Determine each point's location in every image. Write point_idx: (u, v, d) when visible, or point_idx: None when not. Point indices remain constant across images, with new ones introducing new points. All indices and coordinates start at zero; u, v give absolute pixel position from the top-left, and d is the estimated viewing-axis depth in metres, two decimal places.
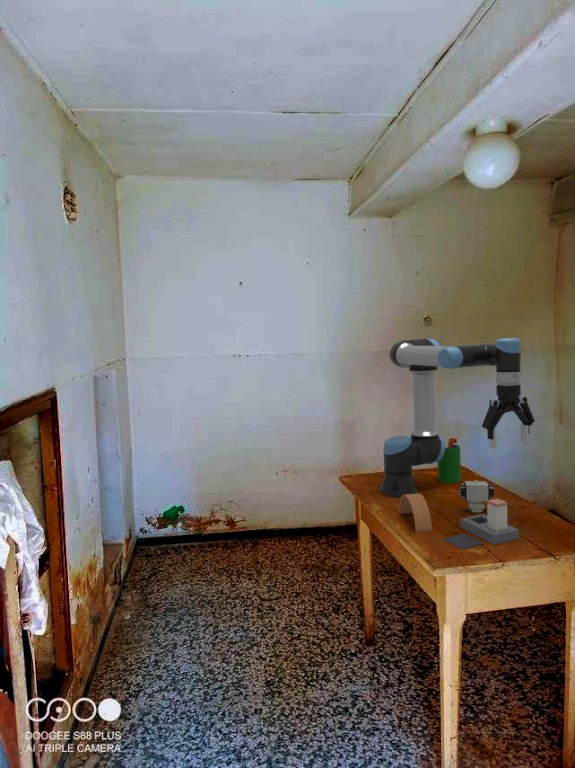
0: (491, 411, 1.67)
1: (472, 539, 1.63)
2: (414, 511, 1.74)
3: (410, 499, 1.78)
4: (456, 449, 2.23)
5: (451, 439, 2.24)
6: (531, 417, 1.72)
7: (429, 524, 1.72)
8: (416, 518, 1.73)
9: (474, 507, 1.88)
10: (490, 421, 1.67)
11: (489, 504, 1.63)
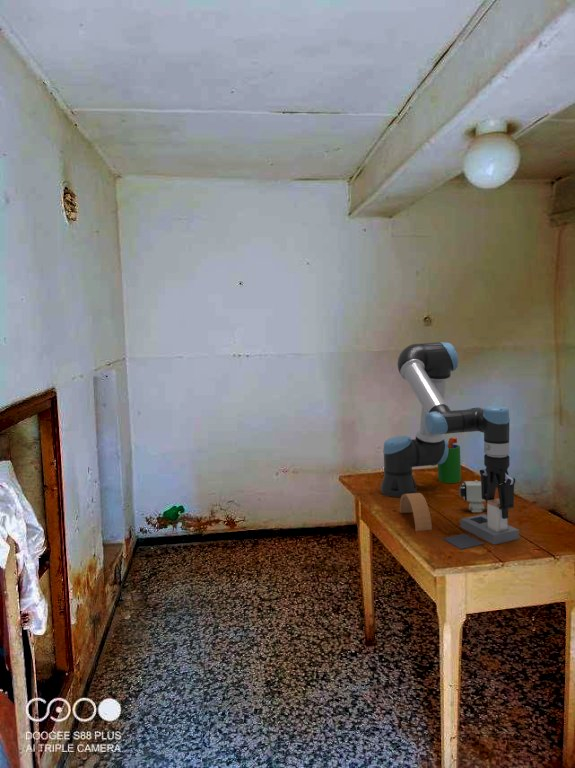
0: None
1: (472, 539, 1.63)
2: (414, 510, 1.75)
3: (410, 498, 1.79)
4: (456, 449, 2.23)
5: (451, 439, 2.24)
6: (505, 502, 1.58)
7: (429, 523, 1.73)
8: (416, 517, 1.73)
9: (474, 507, 1.88)
10: (482, 491, 1.67)
11: (489, 504, 1.63)
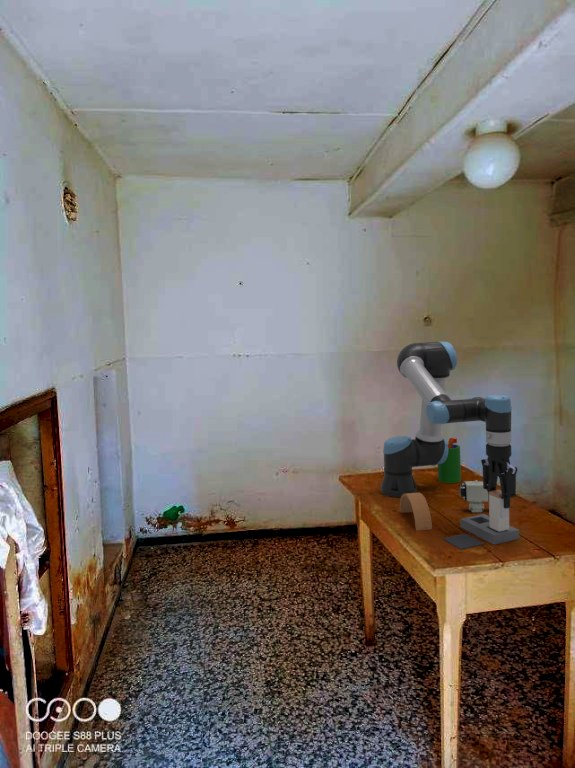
0: None
1: (472, 539, 1.63)
2: (414, 510, 1.75)
3: (410, 498, 1.79)
4: (456, 449, 2.23)
5: (451, 439, 2.24)
6: (507, 491, 1.56)
7: (429, 523, 1.73)
8: (416, 517, 1.74)
9: (474, 507, 1.88)
10: (484, 481, 1.66)
11: (491, 495, 1.62)
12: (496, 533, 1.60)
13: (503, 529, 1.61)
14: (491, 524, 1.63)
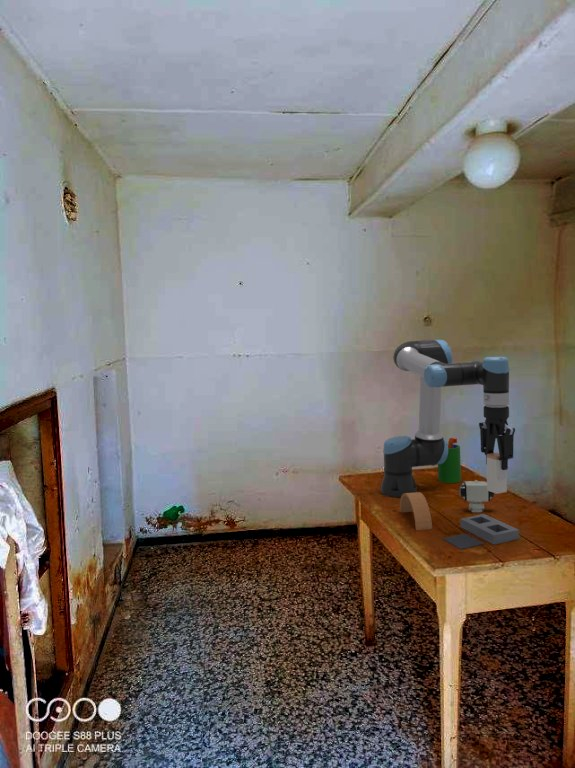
0: None
1: (472, 539, 1.63)
2: (414, 510, 1.75)
3: (410, 498, 1.80)
4: (456, 449, 2.23)
5: (451, 439, 2.24)
6: (505, 452, 1.56)
7: (429, 522, 1.74)
8: (416, 517, 1.74)
9: (474, 507, 1.88)
10: (481, 444, 1.66)
11: (488, 457, 1.62)
12: (496, 533, 1.60)
13: (501, 491, 1.61)
14: (488, 486, 1.63)
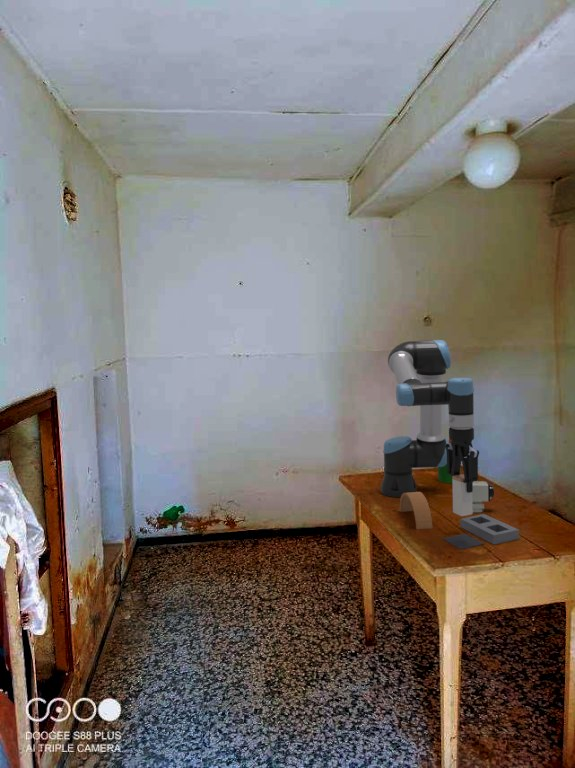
0: None
1: (472, 539, 1.63)
2: (415, 509, 1.76)
3: (411, 497, 1.80)
4: None
5: None
6: (469, 475, 1.54)
7: (429, 522, 1.74)
8: (417, 516, 1.75)
9: (474, 507, 1.88)
10: (448, 466, 1.64)
11: (454, 479, 1.60)
12: (496, 533, 1.60)
13: (466, 514, 1.59)
14: (454, 509, 1.61)
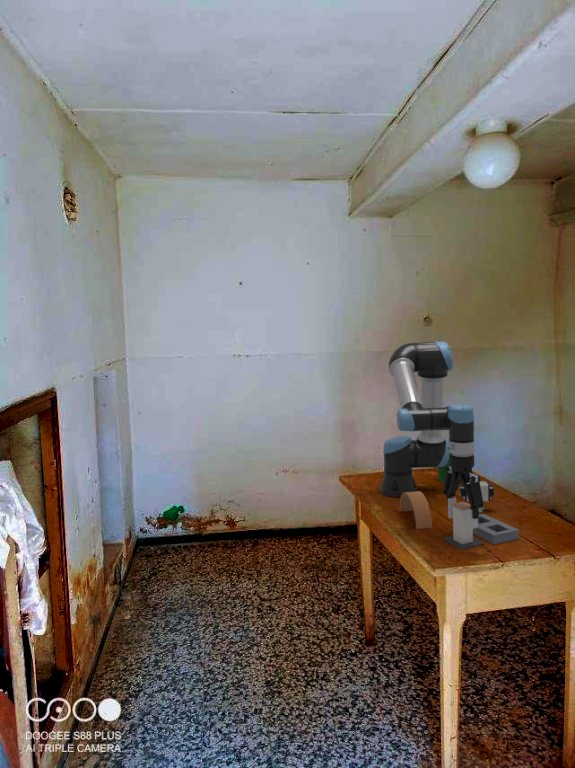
0: None
1: None
2: (415, 509, 1.76)
3: (411, 497, 1.81)
4: None
5: None
6: (475, 501, 1.53)
7: (429, 521, 1.75)
8: (417, 516, 1.75)
9: None
10: (444, 487, 1.67)
11: (454, 507, 1.61)
12: (496, 533, 1.60)
13: (466, 542, 1.60)
14: (455, 536, 1.62)
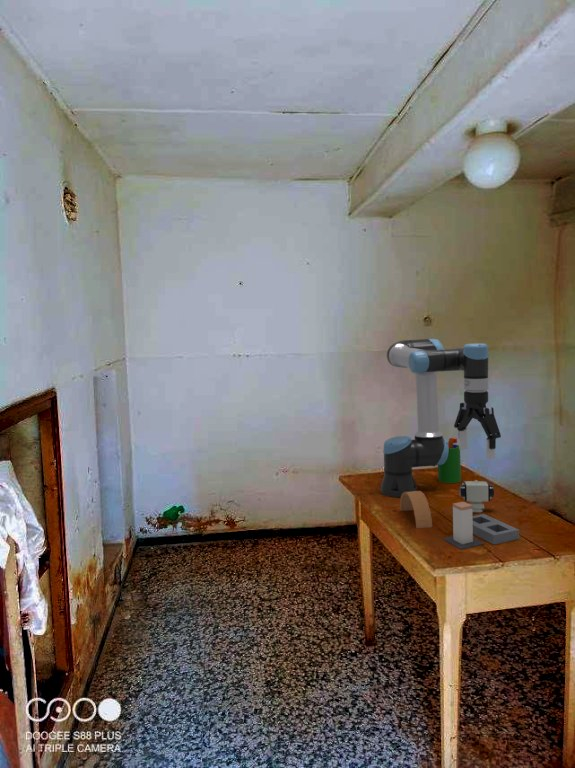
0: None
1: None
2: (415, 508, 1.77)
3: (411, 496, 1.81)
4: (456, 449, 2.23)
5: (451, 439, 2.24)
6: (491, 432, 1.58)
7: (429, 521, 1.75)
8: (417, 515, 1.76)
9: (474, 507, 1.88)
10: (456, 421, 1.75)
11: (454, 507, 1.61)
12: (496, 533, 1.60)
13: (466, 542, 1.60)
14: (455, 536, 1.62)
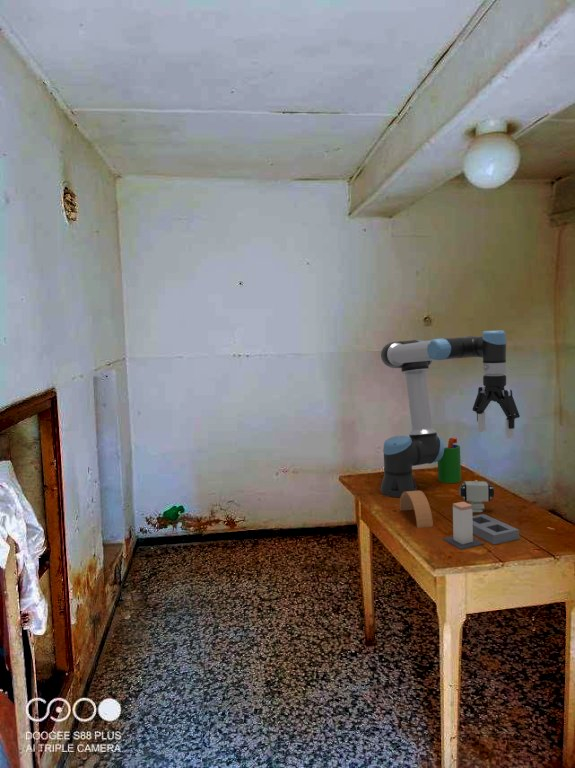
0: None
1: None
2: (415, 508, 1.77)
3: (411, 496, 1.81)
4: (456, 449, 2.23)
5: (451, 439, 2.24)
6: (510, 412, 1.69)
7: (430, 520, 1.76)
8: (417, 515, 1.76)
9: (474, 507, 1.88)
10: (475, 405, 1.85)
11: (454, 507, 1.61)
12: (496, 533, 1.60)
13: (466, 542, 1.60)
14: (455, 536, 1.62)
